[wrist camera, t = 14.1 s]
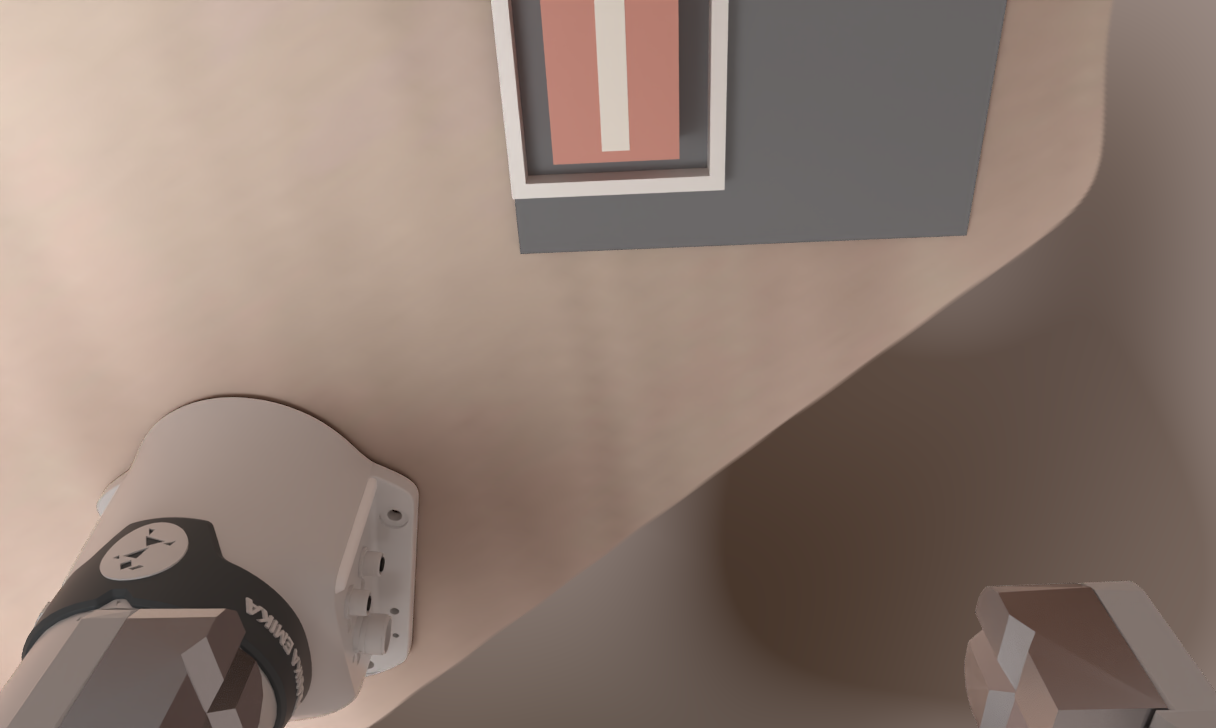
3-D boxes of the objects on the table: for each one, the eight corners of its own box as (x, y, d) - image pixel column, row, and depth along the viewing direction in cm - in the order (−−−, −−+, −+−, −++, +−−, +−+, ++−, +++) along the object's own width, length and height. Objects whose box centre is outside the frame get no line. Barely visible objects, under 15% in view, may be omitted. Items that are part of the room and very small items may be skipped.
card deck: (540, -70, 37) (534, -63, 34) (673, -77, 36) (678, -71, 34) (557, 144, 41) (553, 165, 39) (675, 138, 41) (679, 159, 38)
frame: (721, 181, 42) (724, 190, 41) (514, 190, 42) (512, 199, 41) (728, -143, 35) (731, -143, 34) (481, -130, 35) (477, -129, 34)
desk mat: (963, 232, 44) (966, 235, 43) (521, 250, 44) (520, 253, 44) (1047, -261, 33) (1052, -262, 33) (470, -228, 34) (469, -228, 34)
